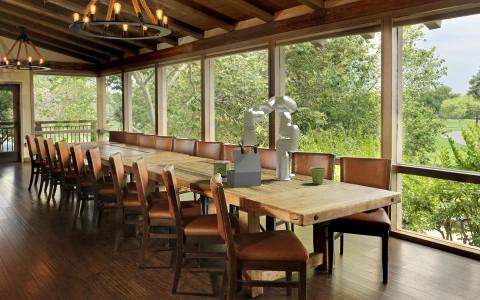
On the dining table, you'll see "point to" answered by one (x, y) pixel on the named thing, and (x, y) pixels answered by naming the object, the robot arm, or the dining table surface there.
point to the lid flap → (246, 161)
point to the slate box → (243, 179)
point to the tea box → (222, 169)
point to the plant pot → (317, 175)
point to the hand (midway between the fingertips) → (249, 153)
